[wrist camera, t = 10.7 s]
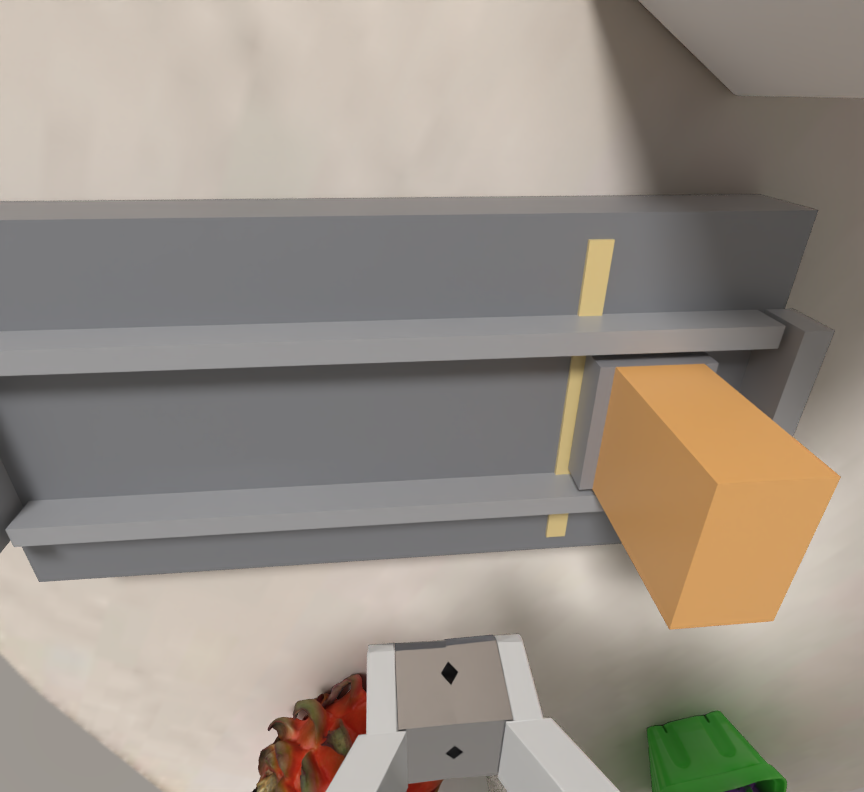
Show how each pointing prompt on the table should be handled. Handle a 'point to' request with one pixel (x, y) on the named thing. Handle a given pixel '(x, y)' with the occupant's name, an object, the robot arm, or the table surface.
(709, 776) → the fruit basket
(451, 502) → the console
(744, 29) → the milk carton
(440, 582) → the table surface
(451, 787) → the cup
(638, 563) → the fader
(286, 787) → the dragon fruit
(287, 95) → the table surface
